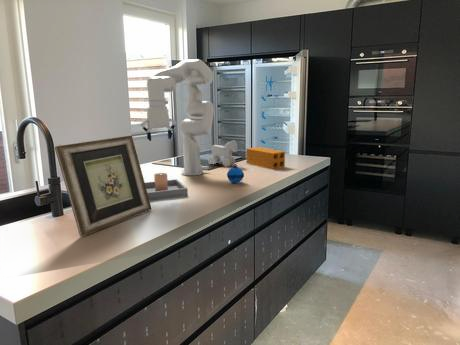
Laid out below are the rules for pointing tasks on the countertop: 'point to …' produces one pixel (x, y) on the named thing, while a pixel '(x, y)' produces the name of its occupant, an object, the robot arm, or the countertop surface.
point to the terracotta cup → (161, 181)
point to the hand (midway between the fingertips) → (159, 139)
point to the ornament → (235, 174)
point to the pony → (223, 154)
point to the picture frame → (103, 182)
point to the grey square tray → (173, 190)
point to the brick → (266, 157)
